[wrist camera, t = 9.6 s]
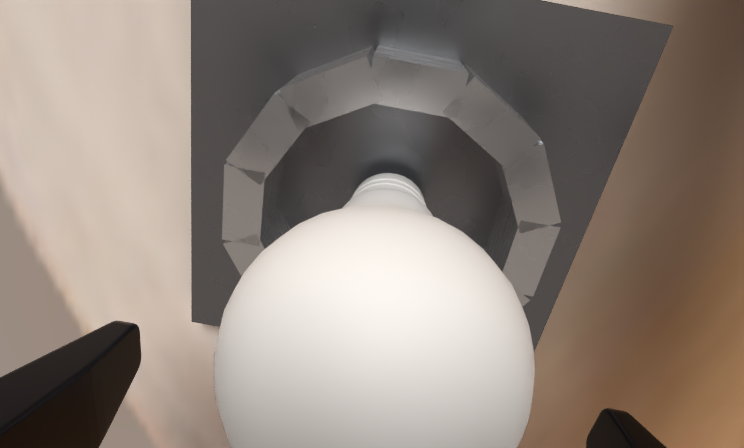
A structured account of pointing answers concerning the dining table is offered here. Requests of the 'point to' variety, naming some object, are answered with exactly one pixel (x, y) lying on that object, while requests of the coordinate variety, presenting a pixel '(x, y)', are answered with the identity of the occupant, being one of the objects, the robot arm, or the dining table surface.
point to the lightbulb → (374, 335)
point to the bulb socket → (409, 124)
